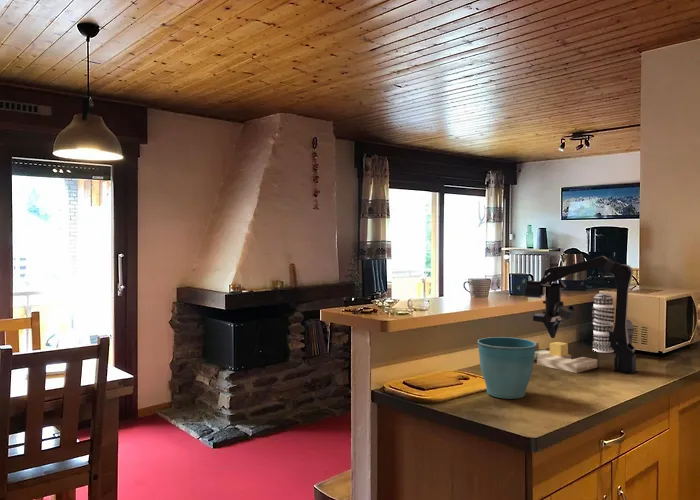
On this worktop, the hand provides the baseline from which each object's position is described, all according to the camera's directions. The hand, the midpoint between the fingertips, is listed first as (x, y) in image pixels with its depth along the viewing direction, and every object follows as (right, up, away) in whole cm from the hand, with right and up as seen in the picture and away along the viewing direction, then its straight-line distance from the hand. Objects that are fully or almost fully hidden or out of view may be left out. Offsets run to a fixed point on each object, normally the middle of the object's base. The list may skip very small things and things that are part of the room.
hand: (552, 337), depth 223 cm
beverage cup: (+35, -10, +13) cm, 38 cm away
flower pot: (-30, -12, -42) cm, 53 cm away
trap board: (+1, -10, 0) cm, 10 cm away
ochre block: (+3, -7, +3) cm, 9 cm away
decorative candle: (+31, -10, +24) cm, 40 cm away
